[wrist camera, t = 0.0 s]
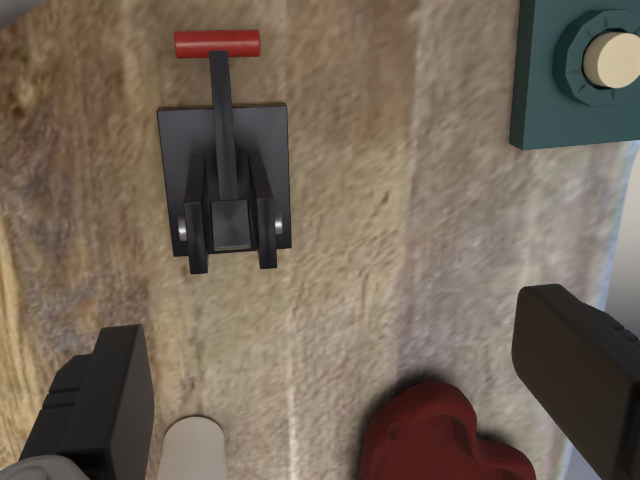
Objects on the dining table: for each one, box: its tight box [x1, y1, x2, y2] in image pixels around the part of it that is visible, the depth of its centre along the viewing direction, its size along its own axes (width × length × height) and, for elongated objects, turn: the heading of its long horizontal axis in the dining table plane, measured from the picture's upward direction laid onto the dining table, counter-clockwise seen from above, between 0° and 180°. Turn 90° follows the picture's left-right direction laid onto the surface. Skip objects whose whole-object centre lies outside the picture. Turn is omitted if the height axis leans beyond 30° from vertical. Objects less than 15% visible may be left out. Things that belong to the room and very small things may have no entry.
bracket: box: [157, 103, 292, 274], centre depth 38 cm, size 11×9×12 cm
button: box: [583, 32, 640, 88], centre depth 41 cm, size 4×4×2 cm
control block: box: [510, 0, 640, 150], centre depth 43 cm, size 13×10×4 cm
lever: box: [174, 30, 260, 251], centre depth 35 cm, size 13×5×2 cm, turn 1°
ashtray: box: [357, 380, 536, 480], centre depth 55 cm, size 18×16×5 cm
